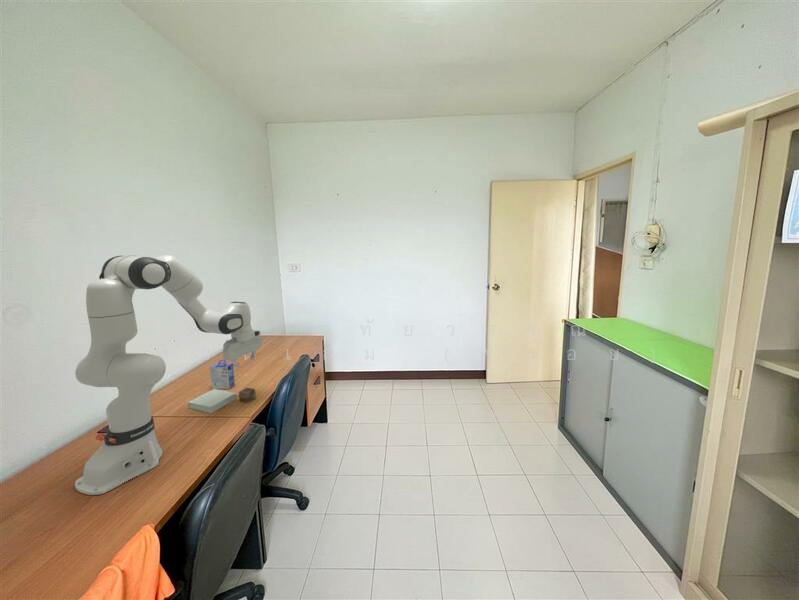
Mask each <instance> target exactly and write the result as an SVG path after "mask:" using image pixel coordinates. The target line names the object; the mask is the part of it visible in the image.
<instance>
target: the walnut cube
mask: <svg viewBox="0 0 799 600" xmlns="http://www.w3.org/2000/svg"><path fill="white" fill-rule="evenodd" d="M256 394H257V393H256V388H251V387H246V388H244V389H242V390H240V391H238V397H239V402H240V403H245V404H249V403H250V402H252V401H254V400H255V399H257V398H256V397H257V395H256Z"/></svg>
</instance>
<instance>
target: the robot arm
mask: <svg viewBox="0 0 799 600" xmlns="http://www.w3.org/2000/svg"><path fill="white" fill-rule="evenodd" d="M159 287H162V288H163V289H164V290H165V291H166V292H167V293H168V294H169V295H171V296H172V297H173V298H174V299H175V301H176V302H177V303H178V304H179V305H180V306H181V307H182V308H183V310H185V311H186V313H188V314H189V316H190V317H191V318H192V319H193V321H194V323H195V325H196V328H197V329H198V330H199V331H200V332H201V333H209V334H211V333H212V334H219V335H230V336H231V339H228V340H225V342H224V344H223V348H222V360H225V361H226V362H231V364H233V368H238V367H240V363H239V362H237V361H238V359H239V358H241V357H243V356H246V355H247V354H250V356H249V360H250V361H254V360H255V359H256V357H255V356H256V353H257V350H259V349H261V348H262V345H263V342H262V336H261V330H258V329H253V328H252V324H251V320H252V316H251V309H250V306H249V304H248V303H247V302H245V301H230V302H229V304H228V306H227V307H226V308H225V309H223V310H221V311H217V310H216V311H215V310H211V309H208V308H206V306H204V304H203V303H202V302H201V301H200V300H199V299H198V297H200V295H201V293H202V292H203V288H204V287H203V283H202V281H201V279H200V278H199V277H198V275H196V274H195V272H194V271H193V270H192V269H190V268H189V266H187V265H186V264H185V263H183V262H182V261H181V260H180V259H178V258H177V257H175V256H174V255H170V254H163V255H162V254H161V255H159V256H157V257H155V258H154V257H150V256H139V255H133V254H131V255H130V254H129V255H117V256H113V257H110V258H108V259H107V260H106V261H105V262H104V263H103V265H102V267H101V272H100V274H99V277H98V279H97V280H94V281H92V282H90V283H89V284H88V285H87V287H86V293H85V306H86V314H87V319H88V324H89V325H88V326H89V330H90V339H91V341H90V348H89V350H88V353H87V355H86V356H84V358H82V359H81V360H80V361H79V362H78V364H77V365H76V368H75V371H74V372H75V378H76V380H77V382H79V383H80V384H82V385H86V386H91V387H96V388H117V391H118V395H117V397H115V398H114V399H113V400H111V401H110V403H109V404H108V405H107V407H106V409H105V413H106V417H107V419H106V420H107V425H108V429H107V432H106V434H105V433H104V434H103V433H98V434H96V436H95V440H96V441H100V442H102V441H104V442H103V444H102V445H100V447H99V448H98V449H97V450H96V452H95V453H93V454H92V455H91V456H90V458H89V459H88V460H87V461H86V462H85V463H84V467H83V475H82V476H80V477H78V478H77V479H76V480H75V482H74V488H75V490H76V491H77V492H79V493H81V494H84V495H89V496H95V495H103V494H106V493H107V492H109V491H111V490H113V489H115V488H118V487H119V486H121V485H123V484H125V483H127V482H129V481H130V479H131V480H132V478H133V479H134V477H135V478H137V477H138V476H141V475H143V474H145V473H147V472H148V471H150V470H152V469H153V468H156V467H157V466H158V465H159V462H160V461H159V460H160V459H161V457H162V455H163V451H164V450H163V448H161V446H160V444H159V442H158V439H157V437H156V434H155V433H156V432H155V430H156V429H155V421H154V417H153V415H152V412H151V402H150V401H151V400H150V399H151V398H150V397H151V393H152V390H153V388H154V387H155V386H156V384H158V383H159V382H160V381H162V379H163V377H164V376H165V374H166V371H167V365H166V362H165V360H164V359H163V357H161V356H159V355H154V354H151V353H144V352H143V353H140V352H139V353H136V352H134V353H131V352H129V353H127V351H126V346H127V343H128V342H130V341H131V340H133V339H134V338H135V337H136V336H137V334H138V331H139V330H138V325H137V319H136V314H135V309H134V304H133V296H134V292H135V291H136V290H153V289H156V288H159ZM136 476H137V477H136ZM128 480H129V481H128ZM126 481H127V482H126ZM124 482H125V483H124ZM122 483H123V484H122Z"/></svg>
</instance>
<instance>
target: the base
mask: <svg viewBox="0 0 799 600" xmlns="http://www.w3.org/2000/svg"><path fill="white" fill-rule="evenodd" d="M236 400H237V393H236V392H232V391H228V390H223V389H211V390H209V391H207V392H206V393H205V392H204V393H203V394H202V395H200V396H196V397H195V398H193V399H191V400H189V401H187V406H188V409H191V410H195V411H200V412H203V413H209V414H212V413H214V412H216V411H218V410H219V409H221V408H223V407H225V406H226V405H229V404H230V403H233V401H236Z"/></svg>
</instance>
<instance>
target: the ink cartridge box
mask: <svg viewBox="0 0 799 600" xmlns="http://www.w3.org/2000/svg"><path fill="white" fill-rule="evenodd" d="M209 373H210V383H211V384H210V385H211V390H213V389H217V390H230V389H232V388H233V387H234V386H236V382H235V381H236V380H235V372H234V364H233V363H227V361H225V360H224V359H219V360H218V363H215V364H213V365H211V366H210V367H209Z"/></svg>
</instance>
